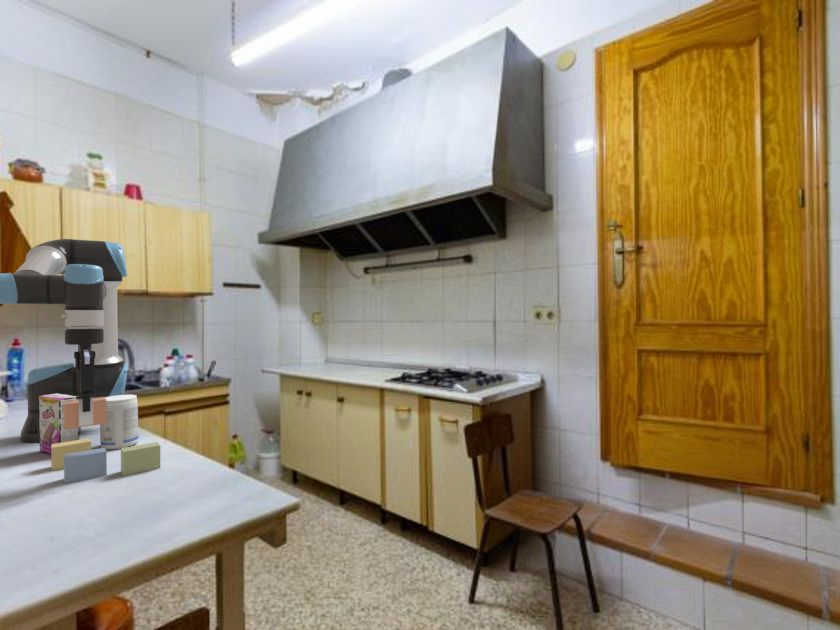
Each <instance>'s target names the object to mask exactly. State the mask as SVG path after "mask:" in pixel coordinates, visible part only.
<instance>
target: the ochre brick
mask: <svg viewBox="0 0 840 630" xmlns="http://www.w3.org/2000/svg"><path fill="white" fill-rule="evenodd" d="M87 450H92V440H91V439H90V437H89V438H83V439H79V440H76V441H69V442H63V443H56V444H51V454H50V457H51V458H50V460H51V462H50V463H51V464H50V465H51V466H50V467H51V471H52V470H54V471H57V470H56V469H60V470H63V469H62V468H64V454H70V453H76V452H82V451H87Z"/></svg>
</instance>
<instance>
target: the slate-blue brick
mask: <svg viewBox="0 0 840 630" xmlns="http://www.w3.org/2000/svg"><path fill="white" fill-rule="evenodd" d="M107 460H108V459H107V449H105V448H101V447H100V448H95V449H94V448H93V449H91V450H87V451H82V452H76V453H70V454H64V469H63V480H64V484H65V483H66V484H69V482H70V483H74V481H75V482H80V481H85V480H89V478H90V479H94V478H93V477H95V478H98V477H97V476H100V477H103V476H102V475H105V476H107V474H108V473H107V465H108V464H107V463H108V462H107ZM84 479H85V480H84ZM79 480H80V481H79Z"/></svg>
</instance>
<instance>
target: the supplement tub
mask: <svg viewBox="0 0 840 630" xmlns="http://www.w3.org/2000/svg"><path fill="white" fill-rule="evenodd" d="M105 399H106V424H100V425H99V435H100V436H99V438H100V443H99V444H100V448H105V449H106V450H108V449H112V450H121V449H120V448H125V447H129V446H130V447H131V446H136V444H137V443H138V442H139V441H140V440H139V436H140V435H139V403H138V397H137V394H123V395H117V396H110V397H105Z"/></svg>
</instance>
